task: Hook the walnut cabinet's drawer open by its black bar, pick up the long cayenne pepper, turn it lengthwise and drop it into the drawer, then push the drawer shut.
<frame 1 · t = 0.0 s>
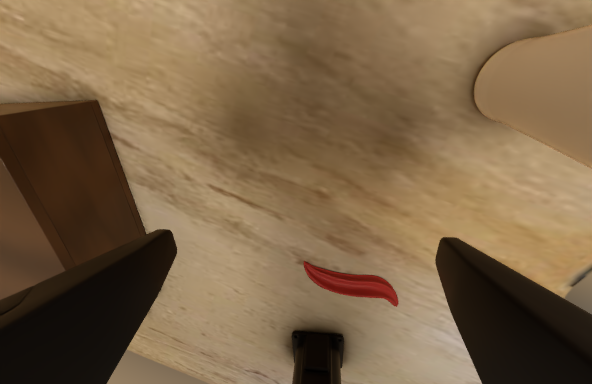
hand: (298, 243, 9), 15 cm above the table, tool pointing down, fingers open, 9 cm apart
cabinet: (73, 198, 28), on the table
drinking glass: (509, 81, 19), on the table
cayenne pepper: (353, 280, 29), on the table
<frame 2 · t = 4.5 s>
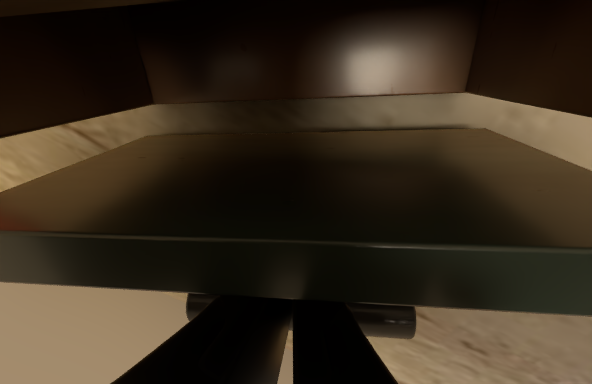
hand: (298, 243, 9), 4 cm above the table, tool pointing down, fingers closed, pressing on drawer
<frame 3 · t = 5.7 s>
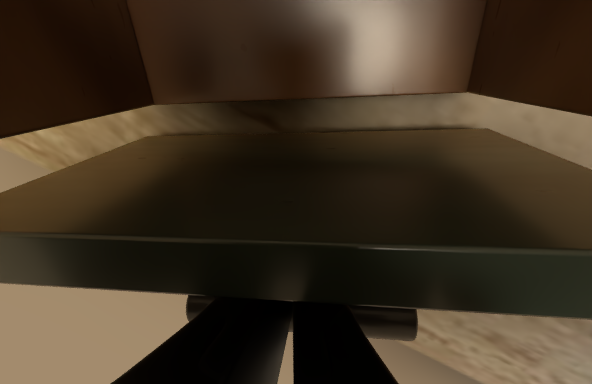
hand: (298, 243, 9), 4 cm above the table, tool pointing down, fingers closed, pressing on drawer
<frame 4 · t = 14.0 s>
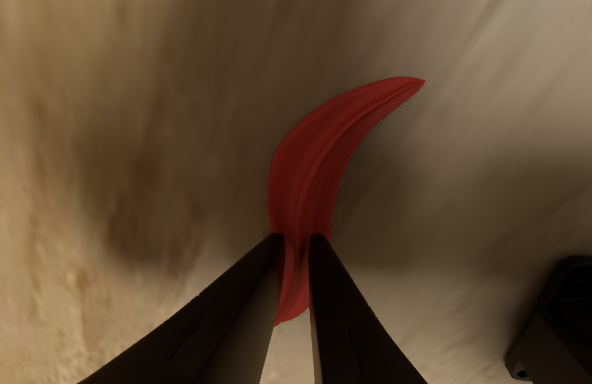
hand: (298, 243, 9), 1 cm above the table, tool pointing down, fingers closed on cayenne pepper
cayenne pepper: (301, 223, 10), on the table, touching gripper
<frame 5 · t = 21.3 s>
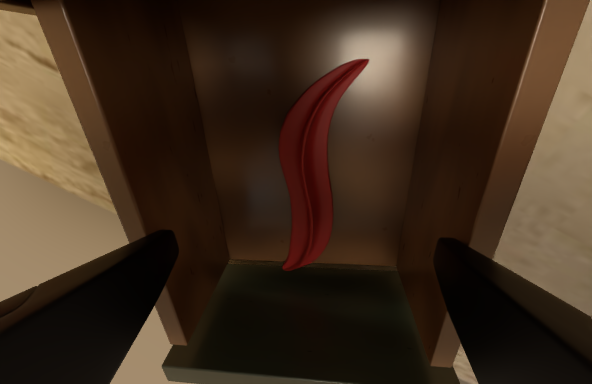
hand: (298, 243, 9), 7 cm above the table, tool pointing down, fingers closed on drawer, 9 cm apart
cayenne pepper: (309, 180, 13), point 2 cm above the table, touching drawer
drawer: (304, 218, 11), point 4 cm above the table, slide at 13.4 cm, touching cayenne pepper, gripper
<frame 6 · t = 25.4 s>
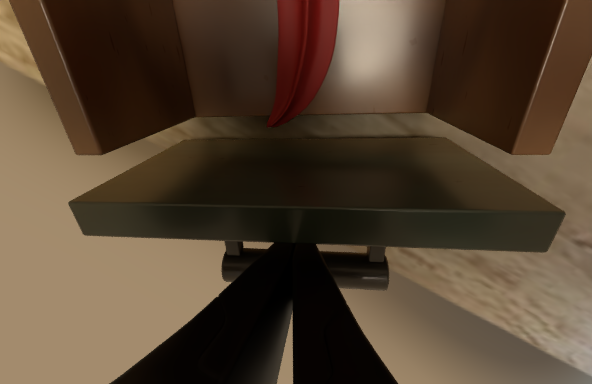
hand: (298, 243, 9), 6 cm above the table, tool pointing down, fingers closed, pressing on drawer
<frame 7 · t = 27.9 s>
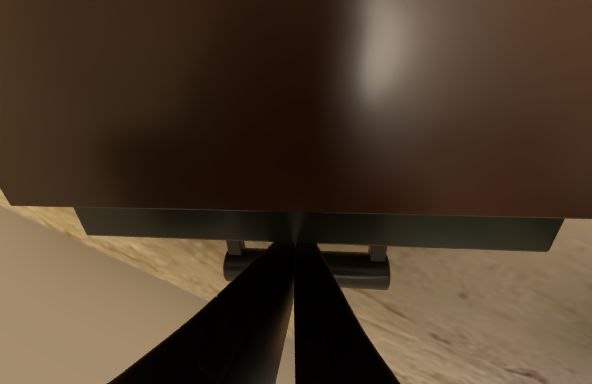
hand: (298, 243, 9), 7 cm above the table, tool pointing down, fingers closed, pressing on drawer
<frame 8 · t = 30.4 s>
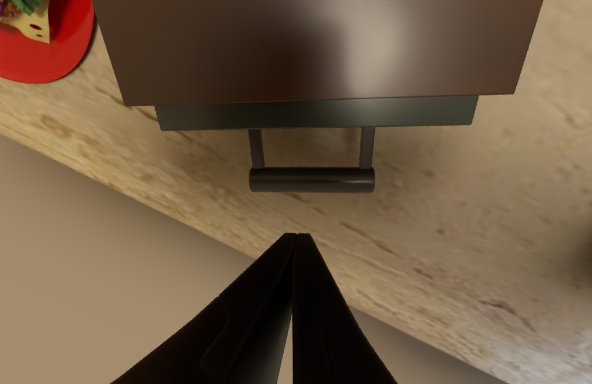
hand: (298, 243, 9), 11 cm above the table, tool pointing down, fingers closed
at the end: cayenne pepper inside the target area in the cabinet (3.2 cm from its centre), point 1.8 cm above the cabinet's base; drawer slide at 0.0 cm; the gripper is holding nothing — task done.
